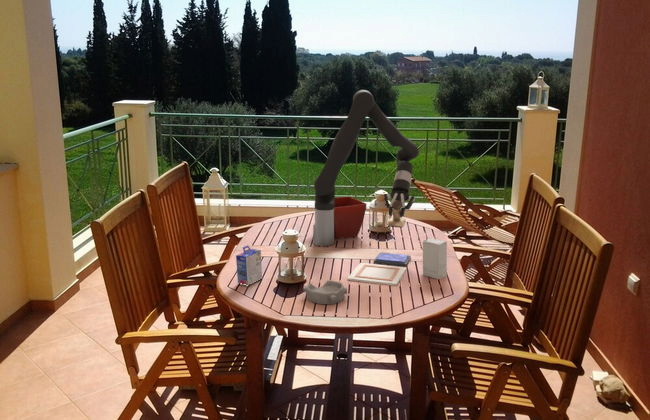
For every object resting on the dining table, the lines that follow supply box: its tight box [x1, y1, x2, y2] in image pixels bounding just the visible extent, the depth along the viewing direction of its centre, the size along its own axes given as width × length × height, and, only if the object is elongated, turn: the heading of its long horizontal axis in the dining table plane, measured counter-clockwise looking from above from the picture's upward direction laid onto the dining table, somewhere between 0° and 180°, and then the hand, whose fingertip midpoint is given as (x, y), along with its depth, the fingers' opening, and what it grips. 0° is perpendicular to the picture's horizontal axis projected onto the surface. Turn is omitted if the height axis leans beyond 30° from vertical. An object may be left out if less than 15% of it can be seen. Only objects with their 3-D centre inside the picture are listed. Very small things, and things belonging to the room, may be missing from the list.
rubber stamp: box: [387, 200, 406, 229], centre depth 273 cm, size 6×6×11 cm
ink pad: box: [373, 252, 412, 268], centre depth 274 cm, size 14×11×2 cm
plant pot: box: [334, 196, 367, 240], centre depth 312 cm, size 19×19×17 cm
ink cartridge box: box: [235, 245, 263, 285], centre depth 248 cm, size 10×6×14 cm, turn 149°
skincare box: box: [422, 237, 448, 280], centre depth 255 cm, size 8×6×15 cm
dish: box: [303, 280, 348, 305], centre depth 232 cm, size 14×14×5 cm
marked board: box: [346, 262, 407, 286], centre depth 257 cm, size 20×20×1 cm
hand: (395, 215), depth 272 cm, fingers closed on rubber stamp, 4 cm apart
